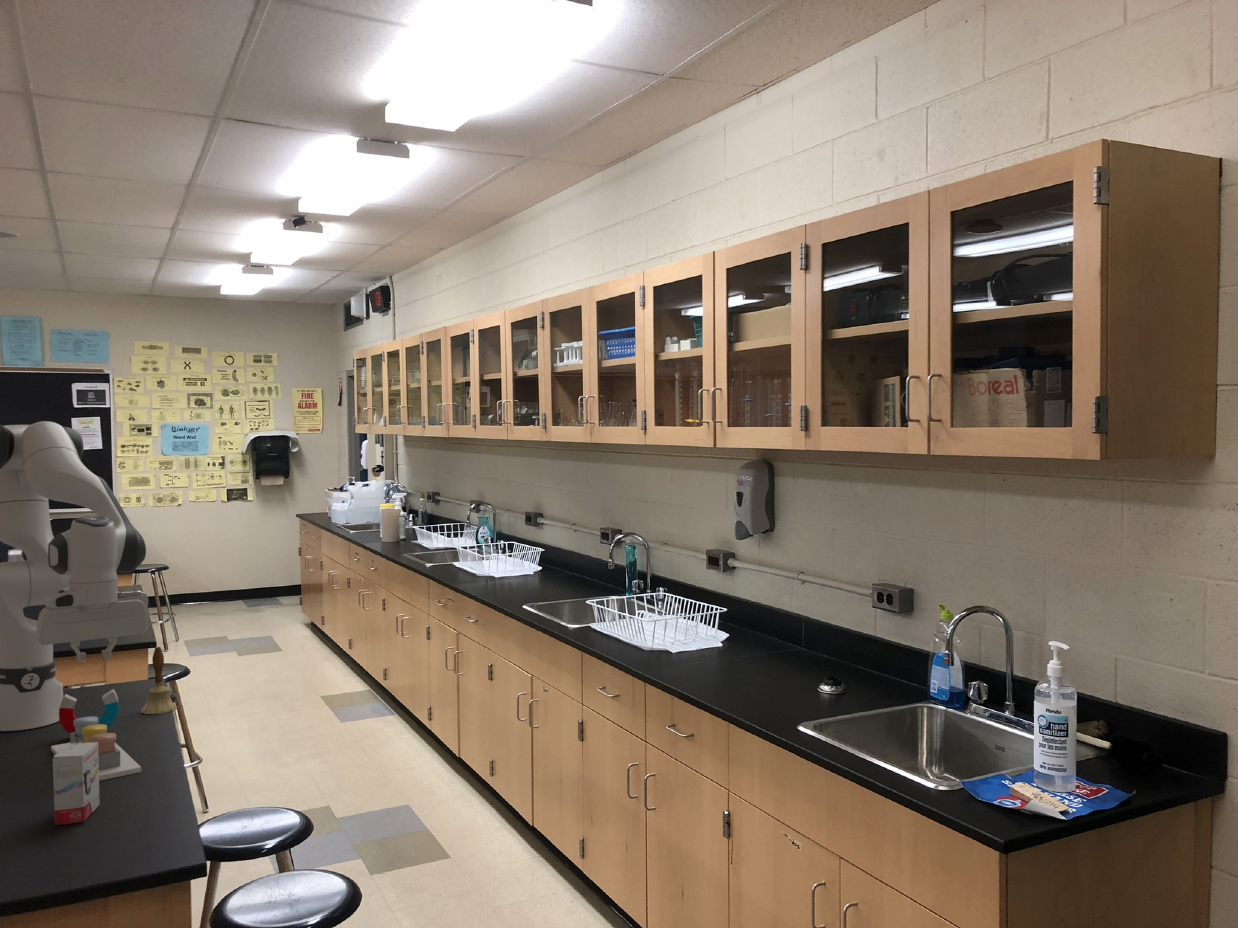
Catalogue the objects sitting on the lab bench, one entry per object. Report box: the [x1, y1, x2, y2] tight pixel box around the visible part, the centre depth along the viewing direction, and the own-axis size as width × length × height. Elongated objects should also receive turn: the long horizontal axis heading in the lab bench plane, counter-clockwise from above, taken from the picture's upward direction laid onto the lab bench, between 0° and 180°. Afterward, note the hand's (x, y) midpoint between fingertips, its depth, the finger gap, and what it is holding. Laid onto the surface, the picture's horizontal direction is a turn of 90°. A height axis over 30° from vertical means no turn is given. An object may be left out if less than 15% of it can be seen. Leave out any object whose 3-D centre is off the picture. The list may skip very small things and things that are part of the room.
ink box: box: [52, 742, 101, 826], centre depth 160 cm, size 9×5×12 cm, turn 13°
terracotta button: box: [90, 732, 117, 755], centre depth 183 cm, size 5×5×4 cm
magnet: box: [59, 688, 120, 735], centre depth 206 cm, size 12×3×10 cm, turn 118°
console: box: [50, 732, 142, 782], centre depth 189 cm, size 28×11×4 cm, turn 42°
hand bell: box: [140, 646, 178, 715], centre depth 228 cm, size 8×8×16 cm
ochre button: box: [82, 724, 108, 743], centre depth 189 cm, size 5×5×4 cm
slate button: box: [74, 716, 99, 737], centre depth 195 cm, size 5×5×4 cm
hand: (94, 660), depth 189 cm, fingers open, 3 cm apart
